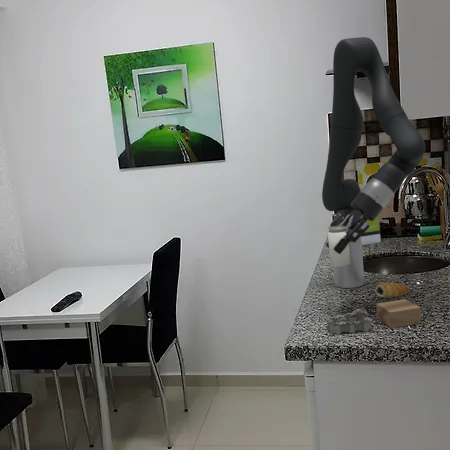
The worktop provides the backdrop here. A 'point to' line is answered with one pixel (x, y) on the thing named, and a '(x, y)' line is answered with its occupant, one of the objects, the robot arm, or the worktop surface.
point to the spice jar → (333, 238)
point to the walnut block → (398, 313)
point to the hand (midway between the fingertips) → (332, 249)
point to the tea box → (371, 232)
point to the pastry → (391, 290)
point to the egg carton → (349, 322)
